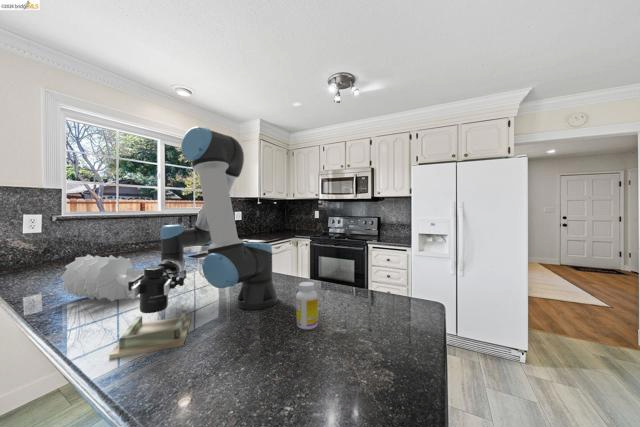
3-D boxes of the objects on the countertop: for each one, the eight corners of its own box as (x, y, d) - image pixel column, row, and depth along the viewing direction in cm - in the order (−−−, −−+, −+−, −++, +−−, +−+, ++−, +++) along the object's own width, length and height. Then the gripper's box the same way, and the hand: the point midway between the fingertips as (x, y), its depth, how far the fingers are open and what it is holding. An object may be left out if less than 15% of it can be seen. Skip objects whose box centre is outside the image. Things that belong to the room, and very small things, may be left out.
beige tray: (133, 327, 79) (133, 315, 79) (191, 318, 84) (191, 308, 84) (109, 359, 62) (108, 344, 62) (183, 345, 68) (183, 332, 68)
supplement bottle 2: (321, 322, 81) (320, 281, 80) (313, 331, 74) (313, 288, 74) (301, 319, 83) (301, 280, 83) (292, 328, 77) (292, 286, 76)
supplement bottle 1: (154, 315, 69) (153, 271, 69) (133, 312, 71) (132, 269, 70) (173, 305, 76) (173, 265, 76) (154, 303, 77) (153, 264, 77)
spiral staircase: (116, 314, 99) (69, 305, 105) (153, 283, 114) (110, 277, 120) (94, 277, 91) (45, 270, 97) (136, 249, 106) (92, 244, 112)
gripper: (198, 279, 94) (190, 300, 72) (134, 284, 87) (104, 310, 65) (198, 258, 93) (190, 274, 72) (134, 262, 86) (104, 281, 65)
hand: (149, 291), depth 68 cm, fingers closed on supplement bottle 1, 7 cm apart
